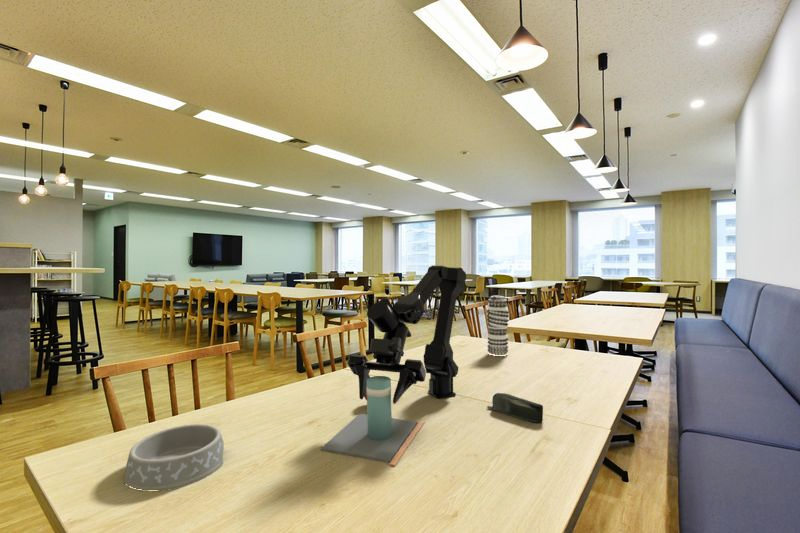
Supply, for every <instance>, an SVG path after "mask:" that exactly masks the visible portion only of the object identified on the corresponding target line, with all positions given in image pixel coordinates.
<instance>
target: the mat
mask: <svg viewBox="0 0 800 533" xmlns="http://www.w3.org/2000/svg"><path fill="white" fill-rule="evenodd" d="M391 420H392V436H391V437H390V438H388V439H386V440H380V441H377V440H372V439H370V438H369V437H368V424H367V413H365V414H364V413H359V414H358V415H356V417H355V416H354V418H353V419H352V420H350V421H349V422H348V423H347V424H346V425H345V426H344V427H343V428H341V429H340V430H339V431H338V432H337V433H336V434H335V435H334V436H333V437H332V438H331V439H329V440H328V441H327V442H326V443H325V444H324V445H322V446H321V447H320V451H322V452H323V451H324V452H329V453H335V454H340V455H347V456H353V457H356V458H357V457H358V458H361V459H369V460H374V461H379V462H386V463H390V462H391V461H392V460H393V458H394V457H395V455H396V454H397V453H398V451H399V450H400V448H401V447H402V446H403V444H404V443H405V441H406V440H407V438H408V437H409V436H410V434H411V433H412V431H413V430H414V429H415V427H416V426H417V424H418V423H419V421H416V420H415V421H414V420H410V419H409V420H408V419H401V418H394V417H393V418H392V417H391Z"/></svg>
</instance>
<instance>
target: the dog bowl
mask: <svg viewBox="0 0 800 533" xmlns="http://www.w3.org/2000/svg"><path fill="white" fill-rule="evenodd" d="M222 436H223V435H222V433H221V430H220V429H219V428H217V427H216V426H213V425H209V424H203V423H202V424H201V423H197V424H193V423H192V424H186V425H185V424H184V425H179V426H174V427H170V428H165V429H162V430H159V431H157V432H154V433H152V434H150V435H147V436H145V437H144V438H142V439H140V440H138V442H136V443H135V444H134V445H133V446H132V447H131V449H130V450H129V452H128V458H127V459H126V460H127V461H126V465H125V474H124V475H125V476H124V485H125V484H127V485H128V486H131V487H133V488H136V489H142V490H165V491H169V490H168V489H171V490H175V489H174V488H176V489H180V488H183V487H188V486H189V485H192V484H195V483H198V482H199V481H202V480H204V479H206V478H208V477H209V476H211V475H212V474H214V473H215V472H217V471H218V470H219V469H221V467H222V466H223V464H224V460H223V459H224V458H223V457H224V448H225V447H224V445H225V443H224V439H223V437H222ZM207 476H208V477H207ZM179 487H180V488H179Z"/></svg>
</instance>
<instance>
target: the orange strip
mask: <svg viewBox="0 0 800 533" xmlns="http://www.w3.org/2000/svg"><path fill="white" fill-rule="evenodd" d="M424 424H425V420H424V421H423V420H420V421H418V423H417V425H416V426H415V427H414V429H413V430H412V432H411V433H410V434H409V436H408V437H407V439H406V440H405V441H404V443H403V444H402V446H401V447H400V449H399V450H398V451H397V453H396V454H395V456H394V457H393V458H392V460H391V461H390V462H389V466H391V467H396V466H397V465H398V463H399V461H400V460H401V458H402V457H403V455H404V454H405V452H406V451H407V449H409V446H410V445H411V444H412V442H414V439H415V437H416V436H417V435H418V433H419V432H420V431H421V429H422V428H423V426H424Z"/></svg>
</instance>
